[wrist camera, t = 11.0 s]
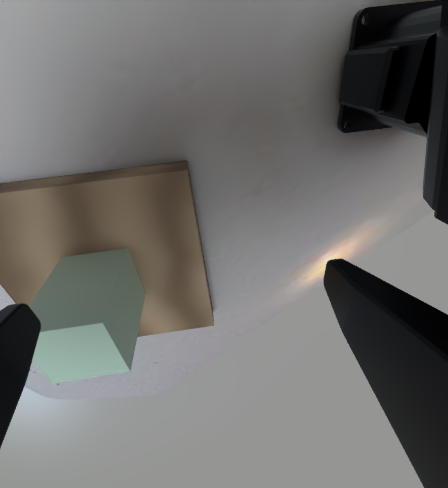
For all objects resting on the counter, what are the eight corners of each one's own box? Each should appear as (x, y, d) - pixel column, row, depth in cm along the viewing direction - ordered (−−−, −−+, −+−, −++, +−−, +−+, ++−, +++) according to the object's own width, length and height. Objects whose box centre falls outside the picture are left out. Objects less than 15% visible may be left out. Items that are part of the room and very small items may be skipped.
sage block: (127, 248, 20) (102, 322, 14) (145, 294, 23) (130, 371, 17) (61, 257, 20) (8, 336, 14) (87, 302, 22) (52, 383, 17)
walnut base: (187, 160, 18) (186, 169, 17) (212, 309, 28) (214, 325, 26) (-44, 189, 18) (-67, 201, 16) (61, 332, 27) (52, 349, 25)
